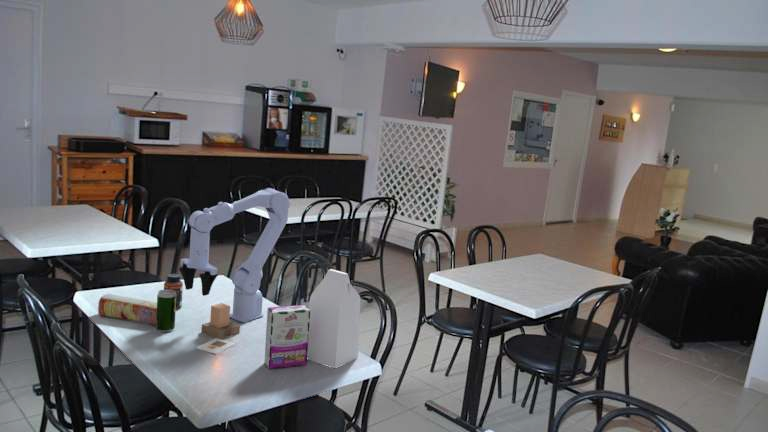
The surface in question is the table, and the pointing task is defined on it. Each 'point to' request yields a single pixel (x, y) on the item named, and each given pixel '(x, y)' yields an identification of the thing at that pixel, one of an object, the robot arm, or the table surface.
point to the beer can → (166, 310)
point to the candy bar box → (287, 336)
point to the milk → (334, 321)
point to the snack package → (128, 309)
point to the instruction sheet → (216, 346)
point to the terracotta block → (220, 315)
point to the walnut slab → (220, 330)
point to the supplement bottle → (175, 287)
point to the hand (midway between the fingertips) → (197, 291)
